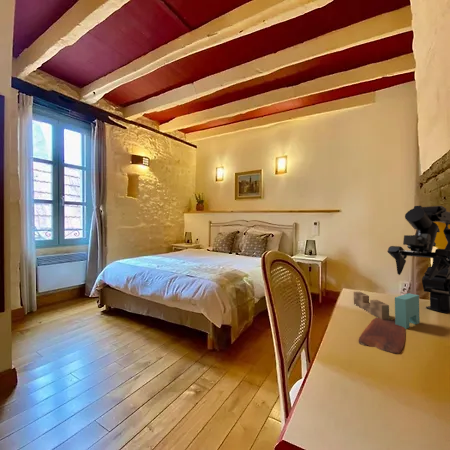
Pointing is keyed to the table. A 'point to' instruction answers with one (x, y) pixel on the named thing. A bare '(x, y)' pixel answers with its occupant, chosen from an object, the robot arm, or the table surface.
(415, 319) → the teal flat block
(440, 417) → the table surface
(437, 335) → the table surface
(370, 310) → the walnut notched bar
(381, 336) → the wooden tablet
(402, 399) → the table surface
